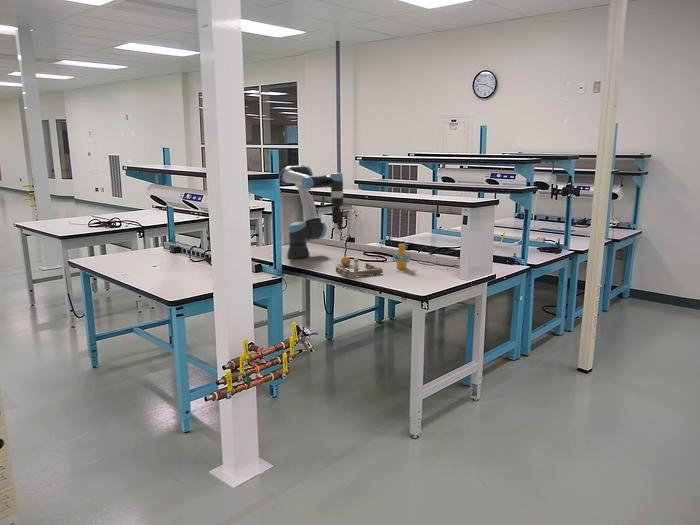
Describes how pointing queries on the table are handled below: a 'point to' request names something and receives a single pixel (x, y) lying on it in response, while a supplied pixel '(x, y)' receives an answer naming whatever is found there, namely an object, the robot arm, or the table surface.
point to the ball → (345, 261)
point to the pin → (355, 263)
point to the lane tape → (347, 266)
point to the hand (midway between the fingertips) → (337, 233)
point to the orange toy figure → (401, 257)
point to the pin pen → (370, 266)
